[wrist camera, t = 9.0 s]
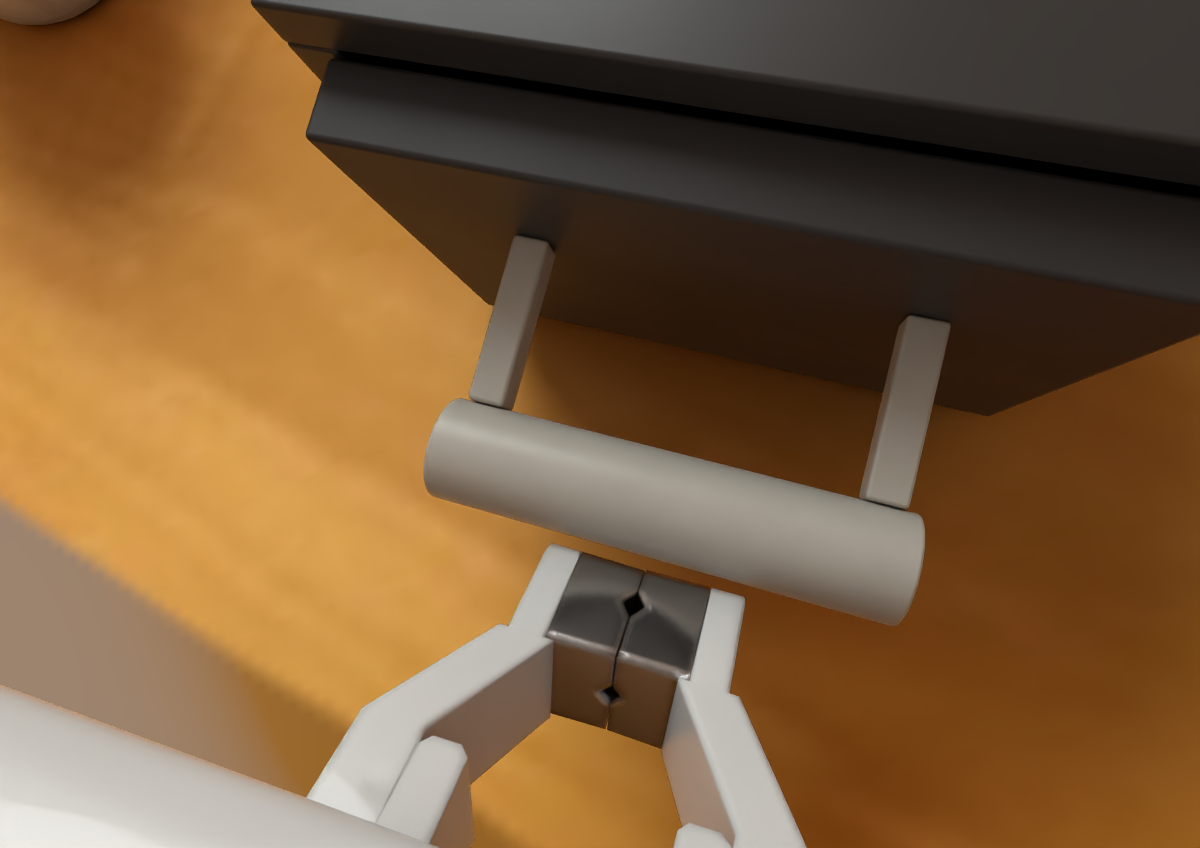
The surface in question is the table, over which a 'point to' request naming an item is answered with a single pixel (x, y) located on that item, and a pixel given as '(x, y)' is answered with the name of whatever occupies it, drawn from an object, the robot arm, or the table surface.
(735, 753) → the robot arm
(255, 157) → the table surface
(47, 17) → the cupcake
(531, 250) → the dark drawer with handle
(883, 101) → the black drawer box
